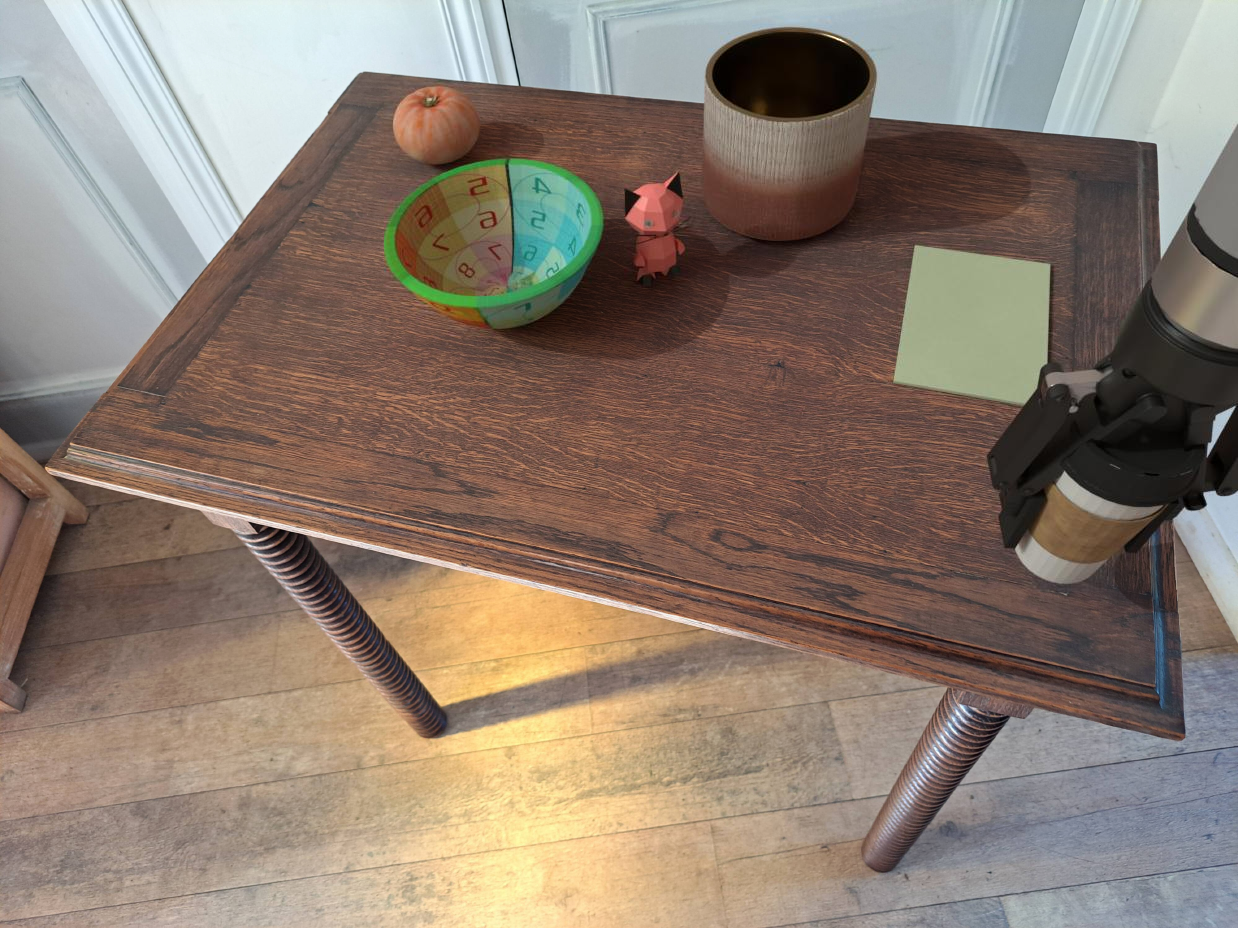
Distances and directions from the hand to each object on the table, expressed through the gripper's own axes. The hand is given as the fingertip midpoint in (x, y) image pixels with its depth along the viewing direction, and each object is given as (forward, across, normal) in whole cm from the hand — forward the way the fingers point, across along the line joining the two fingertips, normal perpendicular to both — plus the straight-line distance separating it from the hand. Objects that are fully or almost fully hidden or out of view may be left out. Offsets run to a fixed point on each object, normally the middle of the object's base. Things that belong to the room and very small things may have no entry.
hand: (1066, 534), depth 62 cm
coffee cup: (+2, 0, 0) cm, 2 cm away
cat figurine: (+10, +32, -38) cm, 51 cm away
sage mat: (+10, -1, -31) cm, 33 cm away
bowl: (+10, +48, -34) cm, 60 cm away
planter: (+10, +19, -51) cm, 55 cm away
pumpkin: (+9, +61, -60) cm, 86 cm away
